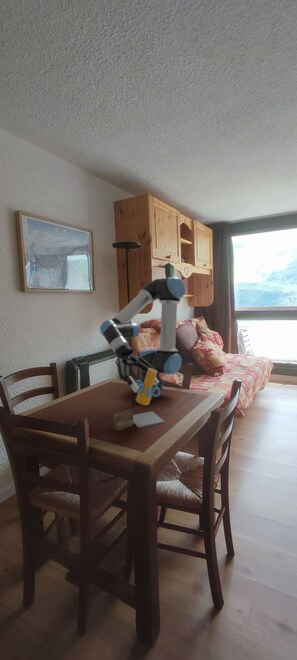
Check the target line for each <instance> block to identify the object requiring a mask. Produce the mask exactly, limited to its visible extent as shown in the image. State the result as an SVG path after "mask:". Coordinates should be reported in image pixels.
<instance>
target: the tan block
mask: <svg viewBox="0 0 297 660" xmlns="http://www.w3.org/2000/svg"><path fill="white" fill-rule="evenodd" d="M133 415H134V410H131V409H126V410H124V411H121V412H118V413H116V414H113V428H114V430H115V431H118V432H120V431H124V430H125V429H127V428H129V427H132V426H134V425H135V424H134V423H133Z"/></svg>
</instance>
